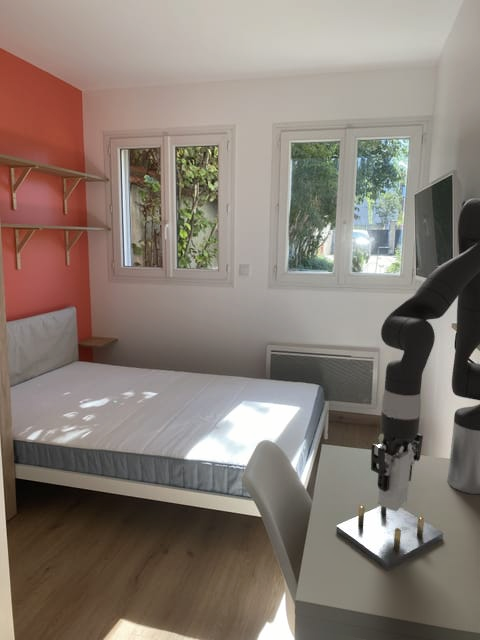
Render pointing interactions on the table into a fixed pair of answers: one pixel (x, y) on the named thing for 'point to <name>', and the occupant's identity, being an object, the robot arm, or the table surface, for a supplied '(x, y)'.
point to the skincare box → (396, 483)
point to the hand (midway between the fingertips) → (394, 484)
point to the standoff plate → (389, 534)
